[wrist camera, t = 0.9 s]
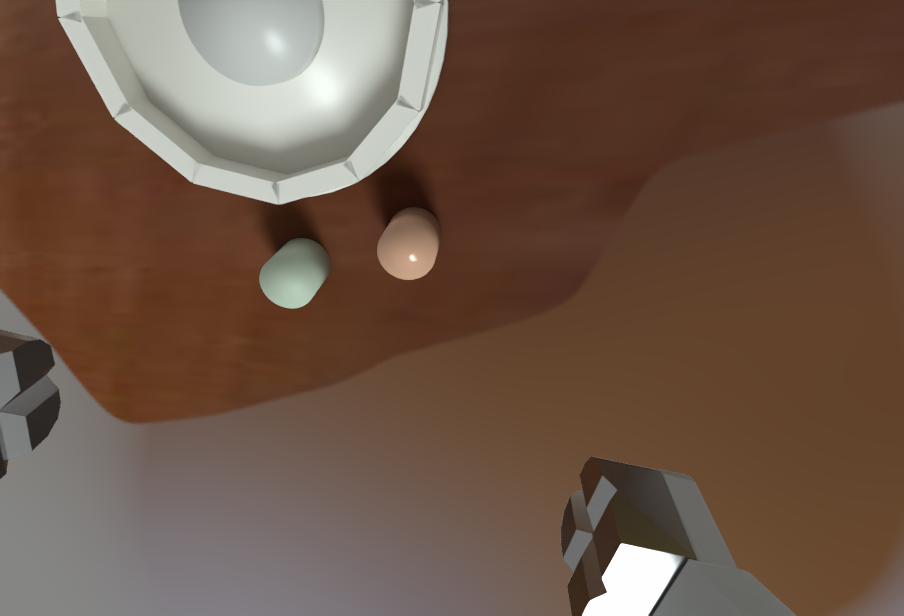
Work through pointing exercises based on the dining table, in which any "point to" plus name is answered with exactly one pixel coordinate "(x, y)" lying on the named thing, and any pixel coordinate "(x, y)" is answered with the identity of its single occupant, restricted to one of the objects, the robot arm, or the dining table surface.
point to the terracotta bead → (410, 243)
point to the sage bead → (295, 273)
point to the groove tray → (266, 116)
